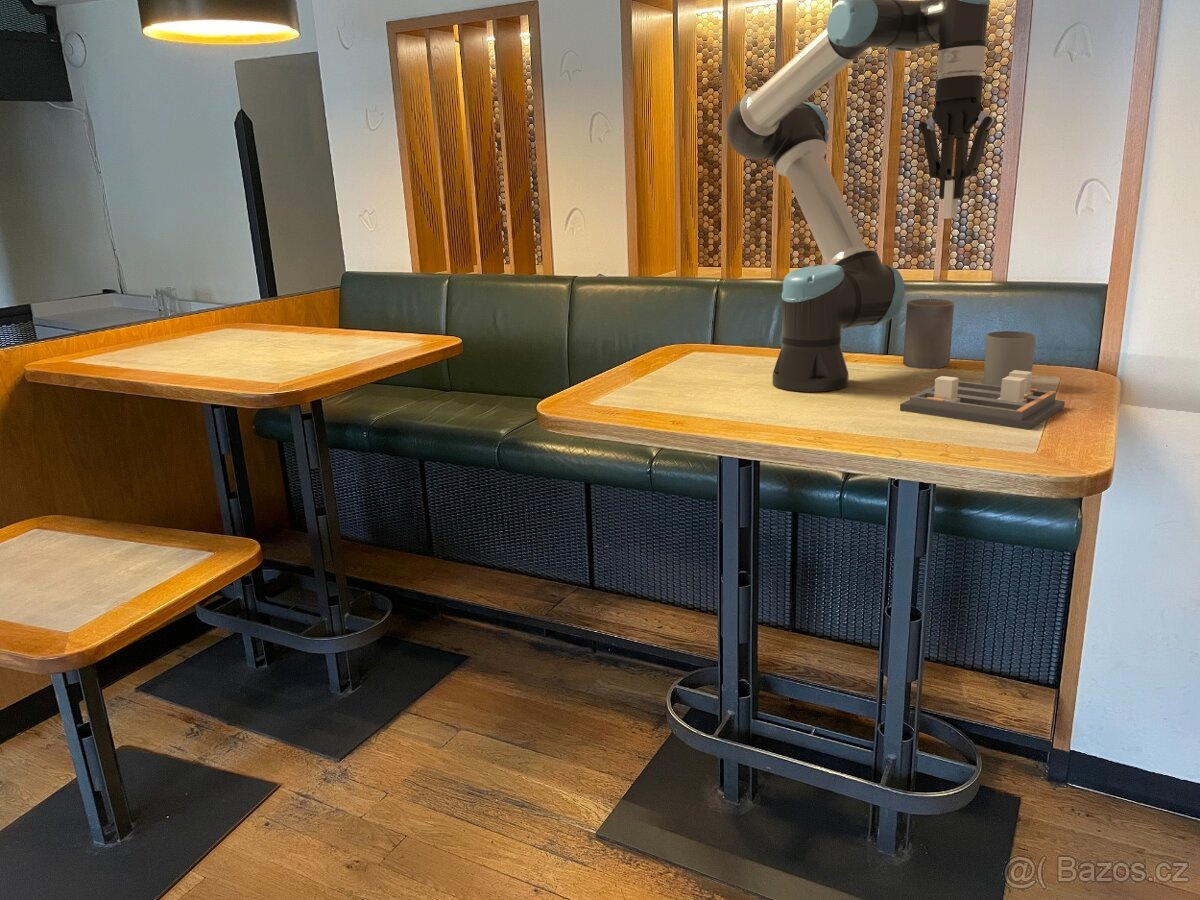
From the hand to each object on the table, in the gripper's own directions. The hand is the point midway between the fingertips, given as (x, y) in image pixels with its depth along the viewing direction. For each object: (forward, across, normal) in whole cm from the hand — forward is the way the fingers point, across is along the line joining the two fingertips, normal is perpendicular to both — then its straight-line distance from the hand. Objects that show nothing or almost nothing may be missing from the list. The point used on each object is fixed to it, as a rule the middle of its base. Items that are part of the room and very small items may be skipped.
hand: (949, 218), depth 155 cm
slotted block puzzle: (+32, +11, -7) cm, 35 cm away
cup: (+33, +8, +13) cm, 36 cm away
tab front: (+31, +7, -12) cm, 34 cm away
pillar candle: (+33, -13, +24) cm, 43 cm away
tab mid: (+31, +16, -7) cm, 36 cm away
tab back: (+31, +15, -2) cm, 35 cm away
